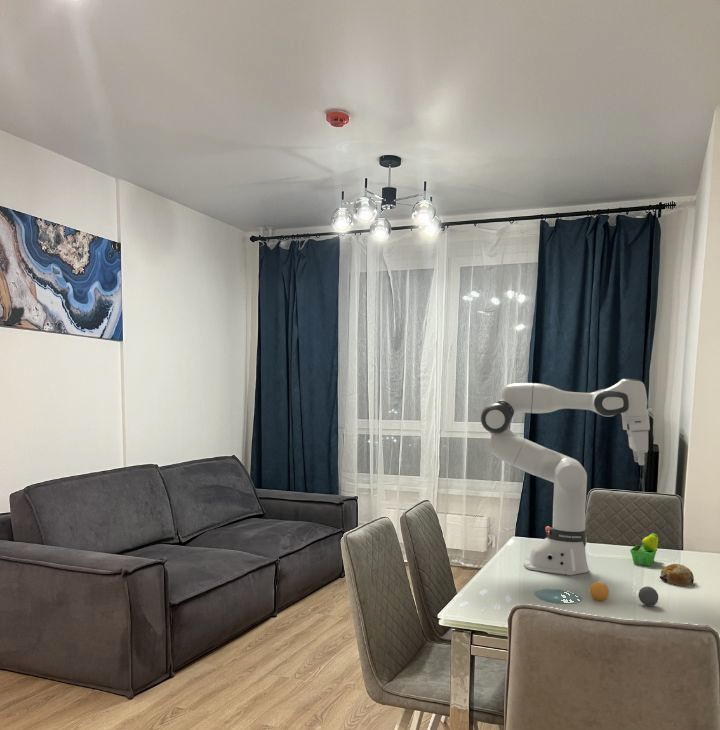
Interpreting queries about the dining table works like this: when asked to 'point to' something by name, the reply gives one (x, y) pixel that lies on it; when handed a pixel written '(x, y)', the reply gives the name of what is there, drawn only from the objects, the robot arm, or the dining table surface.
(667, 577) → the bread roll
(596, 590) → the object ball
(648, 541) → the fruit basket
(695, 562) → the dining table surface
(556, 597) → the teal patterned plate
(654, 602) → the dark gray ball
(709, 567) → the dining table surface
